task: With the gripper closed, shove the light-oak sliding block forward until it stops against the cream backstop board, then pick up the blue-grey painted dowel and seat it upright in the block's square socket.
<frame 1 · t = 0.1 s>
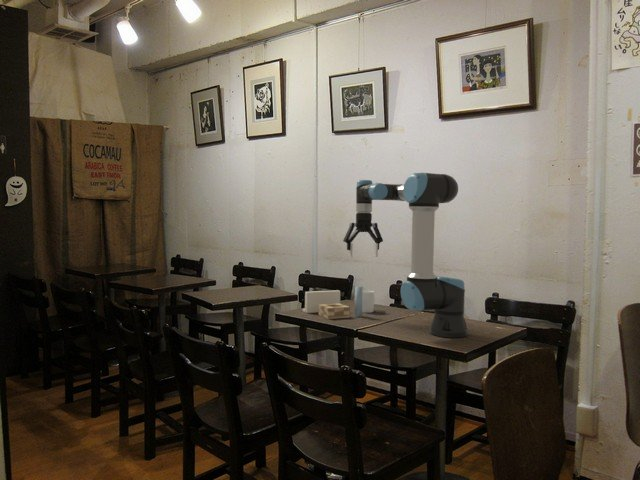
hand: (363, 256, 254), 28 cm above the table, fingers open, 13 cm apart
backstop: (322, 311, 262), on the table
cup: (367, 311, 266), on the table
block: (333, 310, 250), point 2 cm above the table, slide at 0.0 cm
dowel: (358, 316, 251), on the table
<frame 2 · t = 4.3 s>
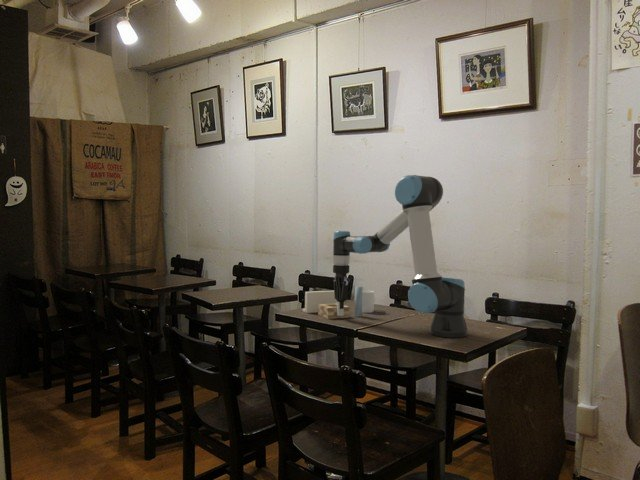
hand: (340, 315, 244), 2 cm above the table, fingers closed
block: (333, 310, 251), point 2 cm above the table, slide at 0.3 cm, touching gripper
everything else where it was.
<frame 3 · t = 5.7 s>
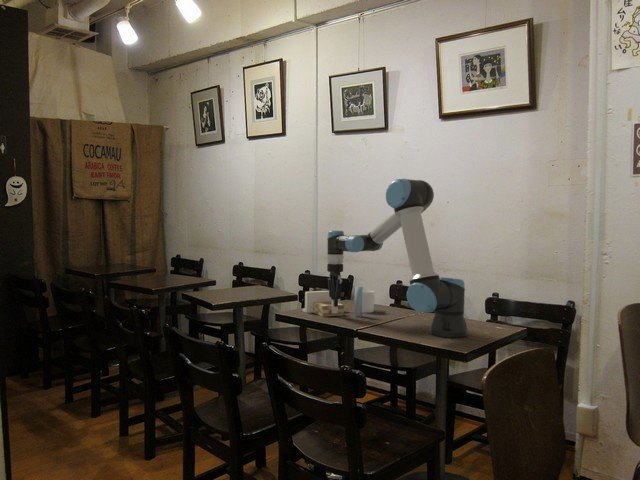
hand: (334, 313, 250), 2 cm above the table, fingers closed
block: (328, 308, 256), point 2 cm above the table, slide at 6.1 cm, touching gripper
everything else where it was.
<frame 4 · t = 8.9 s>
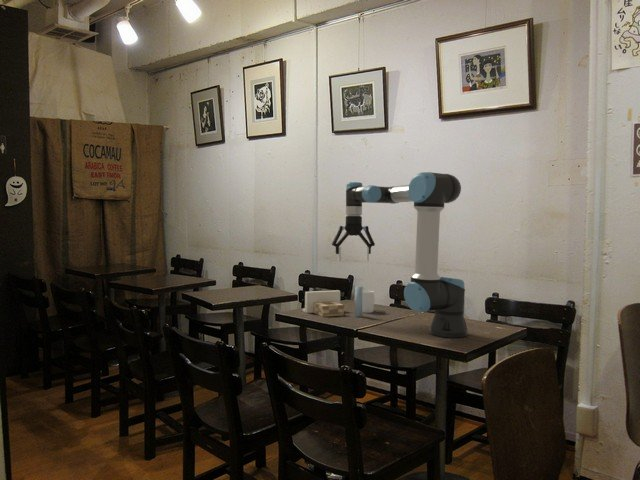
hand: (353, 261, 248), 26 cm above the table, fingers open, 13 cm apart
block: (328, 308, 256), point 2 cm above the table, slide at 6.0 cm
everything else where it was.
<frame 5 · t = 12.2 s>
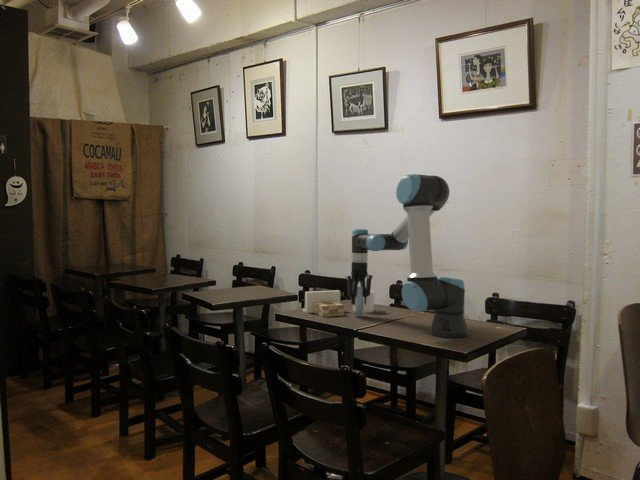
hand: (358, 310, 251), 3 cm above the table, fingers closed on dowel, 3 cm apart
dowel: (358, 316, 251), on the table, touching gripper
everything else where it was.
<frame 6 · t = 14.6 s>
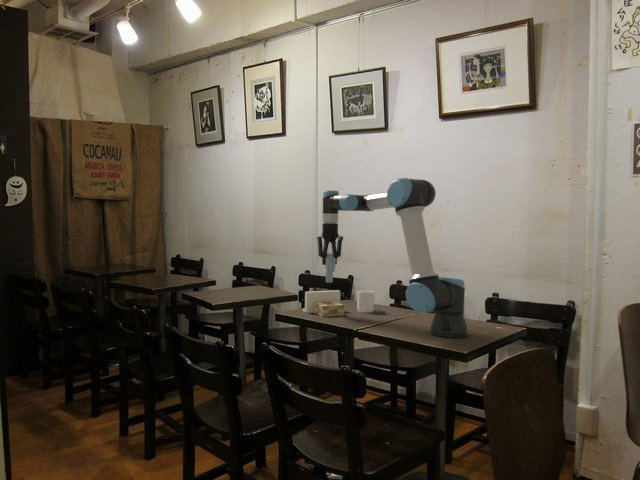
hand: (329, 271, 255), 21 cm above the table, fingers closed on dowel, 3 cm apart
dowel: (329, 282, 255), point 15 cm above the table, touching gripper
everything else where it was.
when the fingers open (7 cm above the table, at t = 17.3 s): dowel stays where it is, resting on block.
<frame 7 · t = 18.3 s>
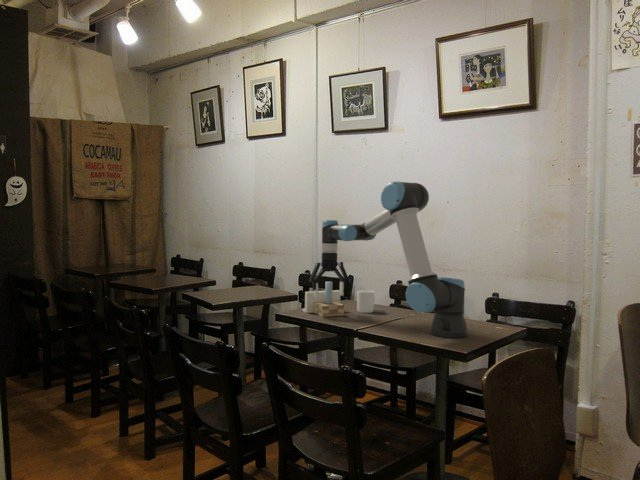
hand: (328, 296, 256), 9 cm above the table, fingers open, 13 cm apart
block: (328, 308, 256), point 2 cm above the table, slide at 6.0 cm, touching dowel
dowel: (328, 310, 256), point 2 cm above the table, touching block
everything else where it was.
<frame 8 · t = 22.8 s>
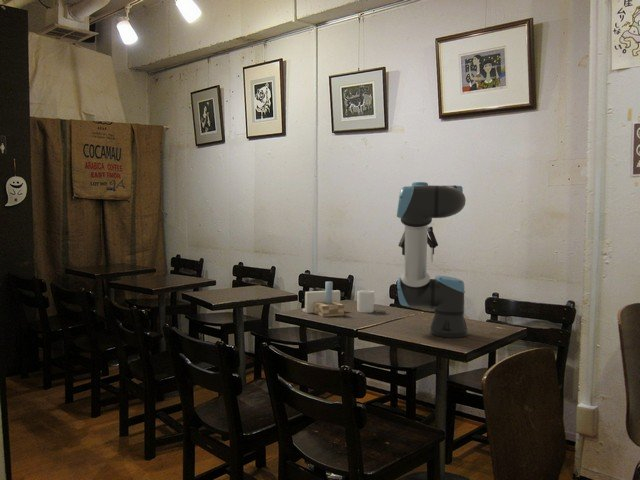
hand: (418, 262, 245), 27 cm above the table, fingers open, 13 cm apart
nothing on the table moved.
at the end: block slide at 6.0 cm; dowel 0.1 cm off-centre on the block, point 1.5 cm above the block's base; dowel tilted 0° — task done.
